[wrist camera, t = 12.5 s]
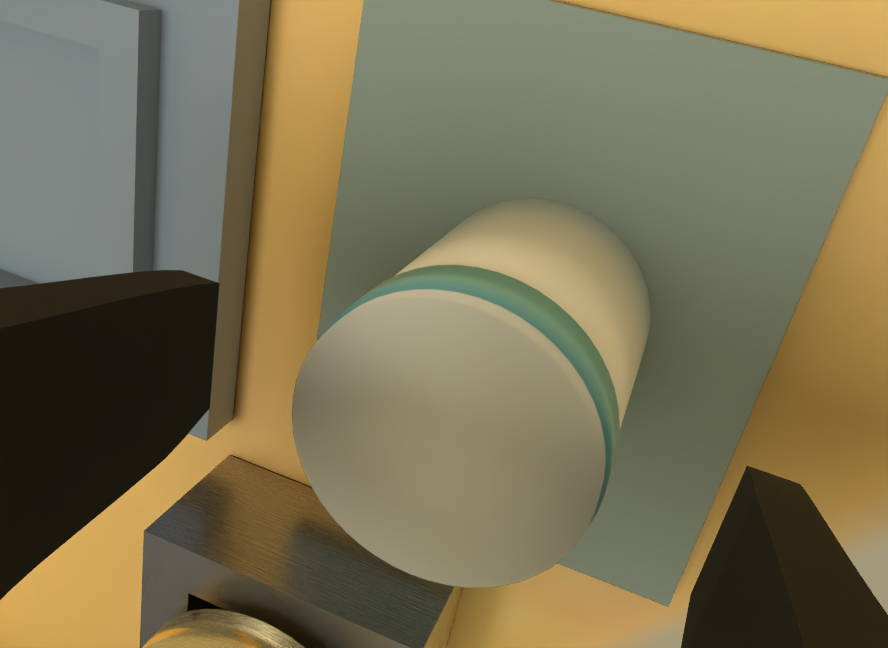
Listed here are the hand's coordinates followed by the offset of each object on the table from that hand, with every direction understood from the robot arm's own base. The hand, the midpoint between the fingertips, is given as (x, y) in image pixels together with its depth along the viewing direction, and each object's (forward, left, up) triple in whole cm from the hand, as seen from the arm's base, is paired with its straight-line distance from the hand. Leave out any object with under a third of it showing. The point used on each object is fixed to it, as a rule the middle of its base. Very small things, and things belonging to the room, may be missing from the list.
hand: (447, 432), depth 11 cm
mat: (0, 0, -5) cm, 5 cm away
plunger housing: (-9, +3, -5) cm, 11 cm away
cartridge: (0, 0, -4) cm, 4 cm away
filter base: (0, +11, -5) cm, 12 cm away
